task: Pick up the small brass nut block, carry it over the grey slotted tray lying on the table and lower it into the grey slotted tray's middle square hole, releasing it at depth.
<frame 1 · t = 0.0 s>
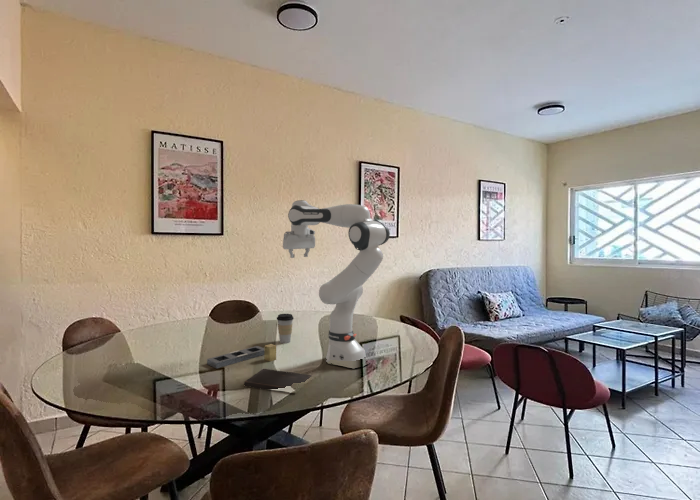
hand: (299, 257, 214), 48 cm above the table, fingers open, 8 cm apart
hardcover book: (278, 384, 167), on the table
coffee cup: (285, 342, 224), on the table
nut block: (270, 359, 194), on the table
grey slotted tray: (238, 358, 195), on the table
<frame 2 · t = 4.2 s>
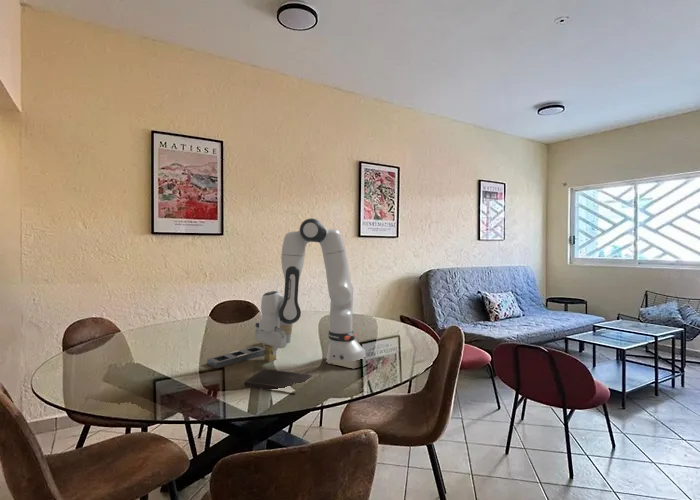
hand: (270, 353, 194), 3 cm above the table, fingers closed on nut block, 4 cm apart
nut block: (270, 359, 194), on the table, touching gripper
everything else where it was.
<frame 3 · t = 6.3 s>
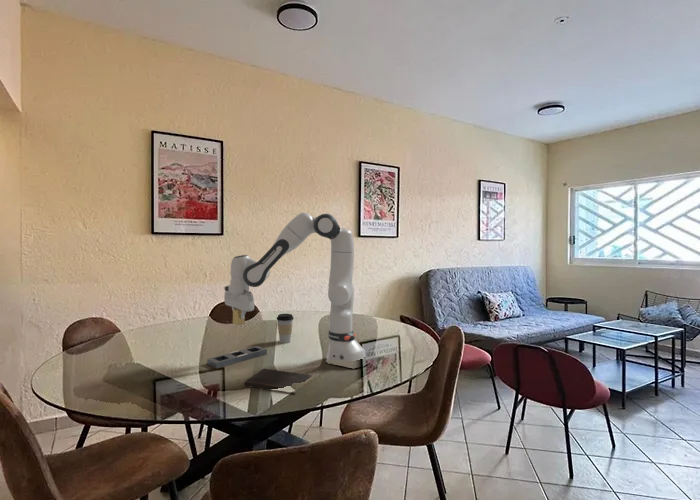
hand: (238, 317, 193), 20 cm above the table, fingers closed on nut block, 4 cm apart
nut block: (238, 323, 194), point 17 cm above the table, touching gripper
everything else where it was.
when the fingers open (4 cm above the table, at t = 8.8 s): nut block stays where it is, resting in grey slotted tray.
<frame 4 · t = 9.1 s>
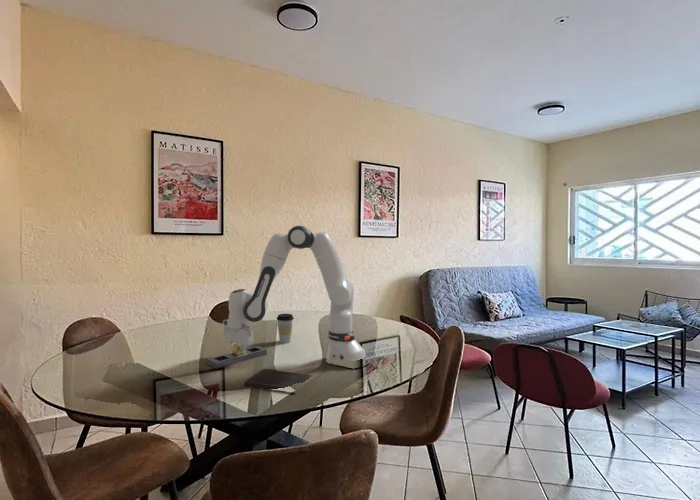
hand: (238, 351, 195), 4 cm above the table, fingers open, 7 cm apart
nut block: (238, 359, 195), resting in grey slotted tray
everything else where it was.
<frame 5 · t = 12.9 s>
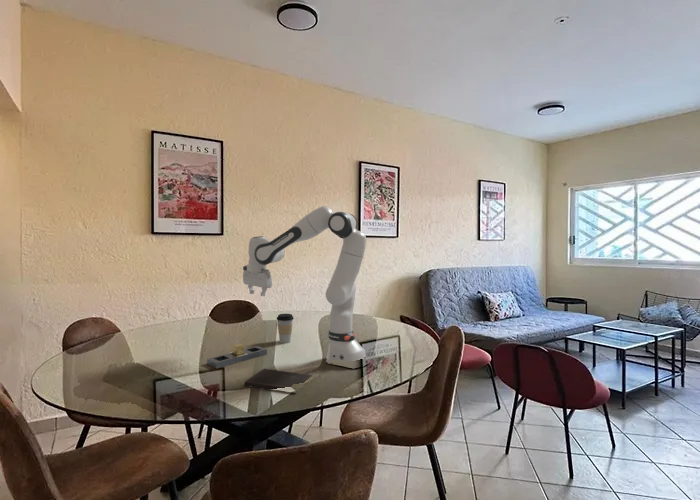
hand: (257, 294, 206), 29 cm above the table, fingers open, 8 cm apart
nothing on the table moved.
at the end: nut block 0.1 cm off-centre on the grey slotted tray, point 0.0 cm above the grey slotted tray's base; nut block tilted 0°; the gripper is holding nothing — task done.
